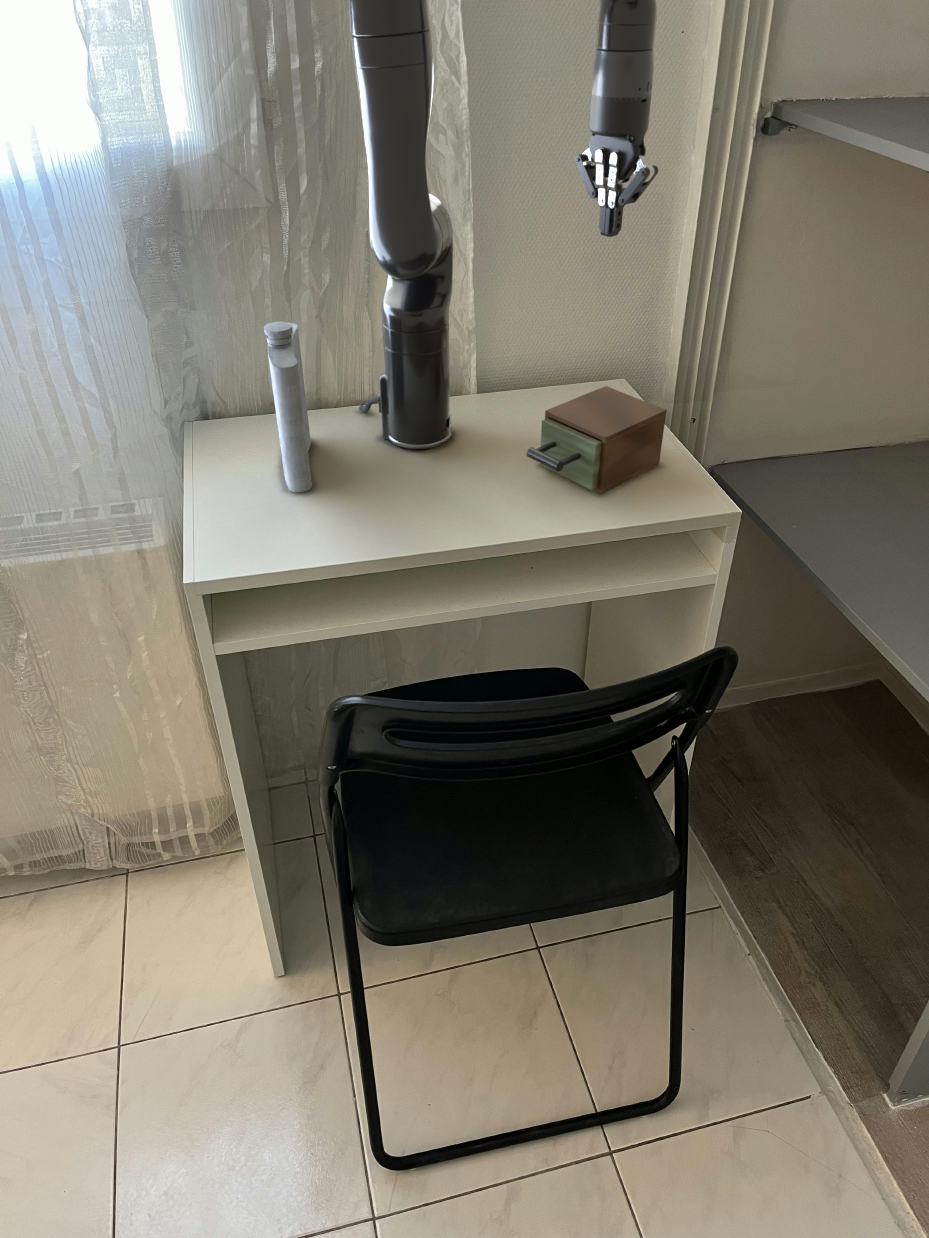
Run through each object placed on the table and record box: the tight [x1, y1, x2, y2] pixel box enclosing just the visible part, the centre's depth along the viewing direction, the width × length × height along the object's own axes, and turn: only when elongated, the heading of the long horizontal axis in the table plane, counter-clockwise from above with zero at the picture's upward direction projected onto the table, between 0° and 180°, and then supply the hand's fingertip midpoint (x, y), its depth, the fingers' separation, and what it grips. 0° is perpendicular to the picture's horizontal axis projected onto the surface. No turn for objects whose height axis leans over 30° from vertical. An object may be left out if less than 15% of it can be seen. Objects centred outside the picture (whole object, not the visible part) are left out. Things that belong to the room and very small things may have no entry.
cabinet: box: [544, 385, 667, 495], centre depth 129 cm, size 12×11×8 cm
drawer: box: [526, 418, 602, 491], centre depth 127 cm, size 16×10×7 cm, turn 132°
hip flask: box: [263, 321, 313, 493], centre depth 126 cm, size 16×4×20 cm, turn 8°
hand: (609, 235), depth 127 cm, fingers closed
